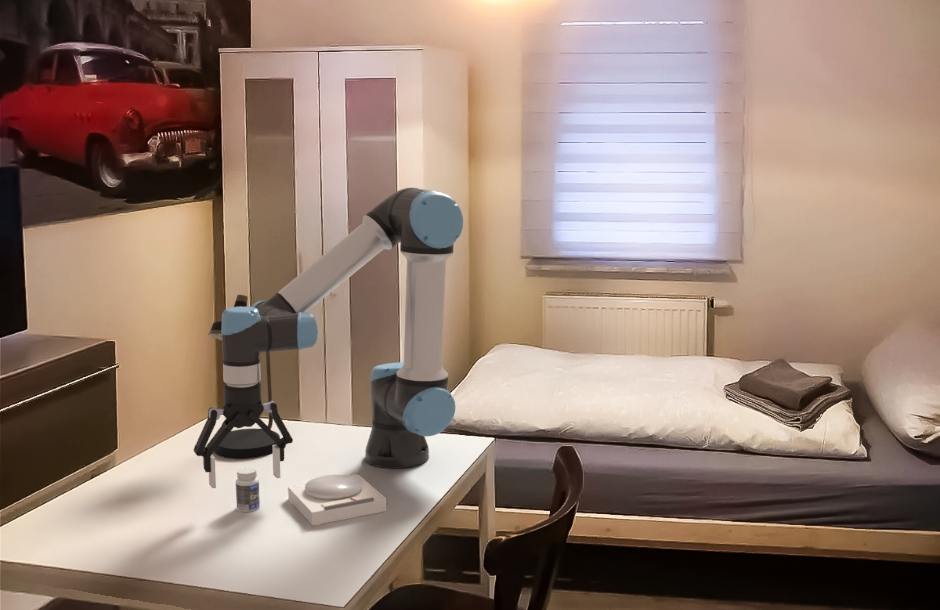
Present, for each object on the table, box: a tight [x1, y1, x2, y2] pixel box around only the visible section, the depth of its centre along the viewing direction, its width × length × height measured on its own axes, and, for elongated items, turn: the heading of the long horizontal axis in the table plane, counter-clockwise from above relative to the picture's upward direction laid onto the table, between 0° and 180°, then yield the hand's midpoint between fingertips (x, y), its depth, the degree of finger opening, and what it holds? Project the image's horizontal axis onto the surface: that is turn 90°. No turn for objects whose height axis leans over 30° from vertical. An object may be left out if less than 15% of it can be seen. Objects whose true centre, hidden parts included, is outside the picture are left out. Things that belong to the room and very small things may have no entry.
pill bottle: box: [235, 467, 261, 513], centre depth 218 cm, size 5×5×8 cm
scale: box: [287, 473, 387, 526], centre depth 220 cm, size 16×16×4 cm
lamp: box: [208, 294, 281, 460], centre depth 254 cm, size 16×22×38 cm
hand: (245, 481), depth 217 cm, fingers open, 13 cm apart
